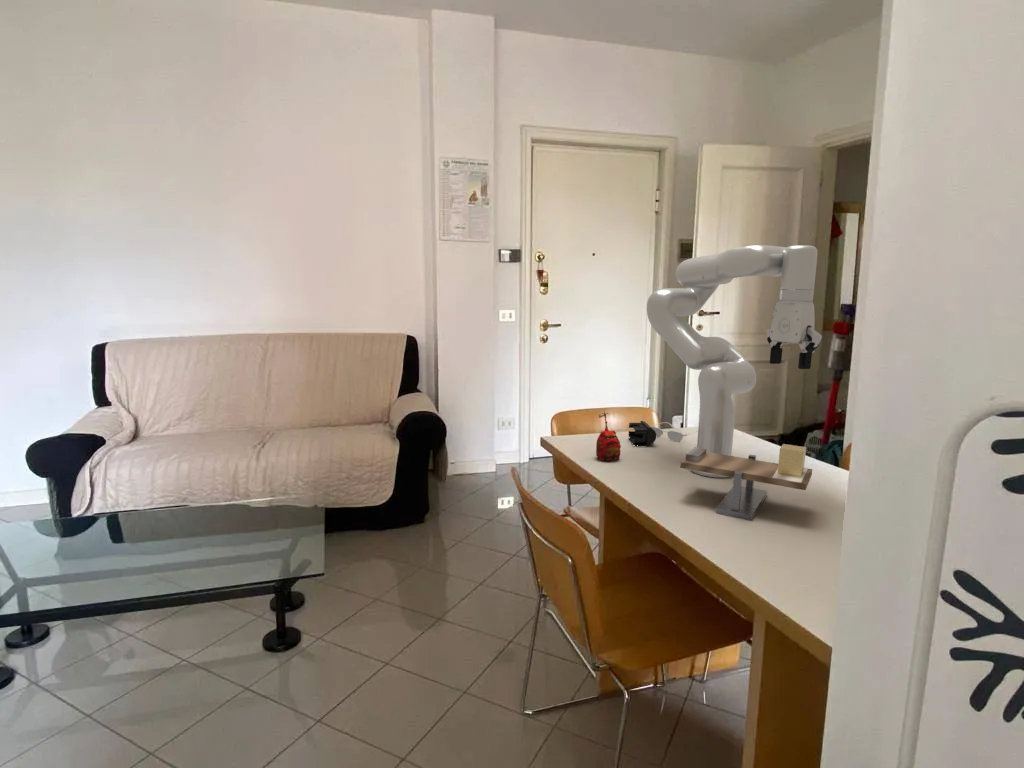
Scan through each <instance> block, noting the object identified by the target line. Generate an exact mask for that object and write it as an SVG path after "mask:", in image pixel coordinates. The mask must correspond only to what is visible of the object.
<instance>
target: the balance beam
mask: <svg viewBox="0 0 1024 768" xmlns="http://www.w3.org/2000/svg"><path fill="white" fill-rule="evenodd" d="M706 450H707V449H704V448H698V447H697V446H695V447H693V448H692V449H691V450H689V451H688V452H687V453H685V458H683V460H681V461H680V469H685V470H690V471H691V470H695V471H701V472H707V473H712V474H718V475H723V476H729V477H728V478H734V473H735V471H738V472H743V478H742V480H751V481H754V482H757V483H764V484H769V485H775V486H779V487H785V488H791V489H797V490H802V491H806V490H807V487H808V486H809V483H810V480H811V478H812V475H813V468H808V467H804V472H803V474H802V476H801V477H796V476H790V475H784V474H778V463H776V462H770V461H763V460H758V459H756V460H753V459H748V458H745V457H740V456H733V455H731V456H728V455H722V454H716V453H710V452H706Z"/></svg>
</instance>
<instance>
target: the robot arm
mask: <svg viewBox="0 0 1024 768" xmlns="http://www.w3.org/2000/svg"><path fill="white" fill-rule="evenodd" d="M818 253H819V252H818V248H817V247H815V246H814V245H808V244H807V245H789V246H787V247H785V246H777V245H766V244H756V245H755V244H753V245H746V246H741V247H735V248H730V249H727V250H725V251H722V252H719V253H715V254H714V253H713V254H709V255H703V256H697V257H691V258H688V259H685V260H682V262H680V263H679V264H678V265H677V268H675V269H676V270H675V278H676V280H677V282H678V283H679V284H680V285H681V286H683V287H685V288H682V287H681V288H678V287H675V288H673V287H671V288H670V287H666V288H661V289H656V290H655V291H653V292H652V293H651V294H650V295H649V297H648V299H647V301H646V316H647V319H648V321H649V323H650V324H651V327H652V328H653V330H654V331H655V332H656V333H657V334H658V335H659V336H660V337H661V339H663V340H664V341H665V342H666V343H667V345H668V346H669V347H670V348H671V349H672V351H673V352H675V354H676V355H677V356H678V357H679V359H680V360H681V361H682V362H683V363H684V364H685V365H686V366H687V367H688V368H689V369H691V370H697V371H698V370H699V371H700V372H699V375H698V379H697V385H698V393H699V415H698V427H697V428H698V429H697V431H698V432H697V441H696V442H697V444H696V447H698V448H704V449H707V450H706V452H710V453H716V454H722V455H728V456H733V455H732V454H733V443H734V427H735V417H736V411H735V404H734V402H733V399H732V396H733V395H734V396H735V395H742V394H745V393H748V392H750V391H752V390H753V389H754V388H755V386H756V384H757V373H756V370H755V368H754V367H753V366H752V364H751V363H750V362H749V361H748V360H747V359H746V357H744V355H742V353H740V351H739V350H738V349H737V348H736V347H735V346H734V345H733V344H732V342H729V341H728V340H726V339H725V338H723V337H721V336H719V337H718V336H704V335H701V334H700V333H698V332H697V331H696V329H694V327H693V326H692V325H691V324H690V323H689V322H687V321H685V320H684V319H682V318H681V317H690V316H693V315H695V314H697V313H698V312H699V311H701V309H702V308H703V307H704V305H706V303H707V301H708V300H709V299H710V298H711V297H712V295H713V294H714V293H715V291H716V290H717V289H718V288H719V286H720V285H727V284H729V283H731V282H732V281H733V280H734V279H735V278H736V279H737V278H743V277H757V276H759V277H780V288H779V293H778V302H776V304H775V307H774V310H773V314H772V319H771V324H770V328H767V329H766V330H765V334H766V339H767V343H768V347H769V348H770V353H769V364H771V365H776V364H777V365H779V364H782V359H783V358H782V357H783V344H791V345H796V344H797V345H798V346H799V348H800V350H801V352H799V357H798V364H797V365H798V366H797V367H798V369H799V370H810V369H811V366H812V357H813V356H812V355H813V353H815V350H816V349H817V348H818V347H819V344H820V343H821V340H822V338H823V335H822V334H820V333H819V332H818V331H817V330H815V321H816V317H815V315H816V314H815V304H814V303H813V301H814V292H815V283H816V282H815V281H816V274H817V273H816V271H817V263H818V262H817V261H818ZM690 471H691V472H693V473H695V474H696V475H700V476H704V477H709V478H717V479H718V478H719V479H722V478H730V477H729V476H723V475H718V474H712V473H707V472H701V471H695V470H690Z"/></svg>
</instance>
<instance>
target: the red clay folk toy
mask: <svg viewBox="0 0 1024 768" xmlns="http://www.w3.org/2000/svg"><path fill="white" fill-rule="evenodd" d="M603 412H604V413H602V414H599V415H598V418H603V417H604V422H605V423H604V424H605V428H604V430H602V431H600V433H599V435H598V436H597V440H596V449H595V450H596V451H595V455H596V458H597V459H598V460H600V461H601V462H605V461H606V462H607V461H608V462H610V461H612V462H616V461H619V460H620V457H621V456H620V455H621V451H622V450H621V447H622V446H621V441H620V440H619V438H618V435H617V432H616V431H615V430H609V428H608V420H607V414H609V413H608V412H607V413H606V410H605V409H603Z"/></svg>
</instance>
